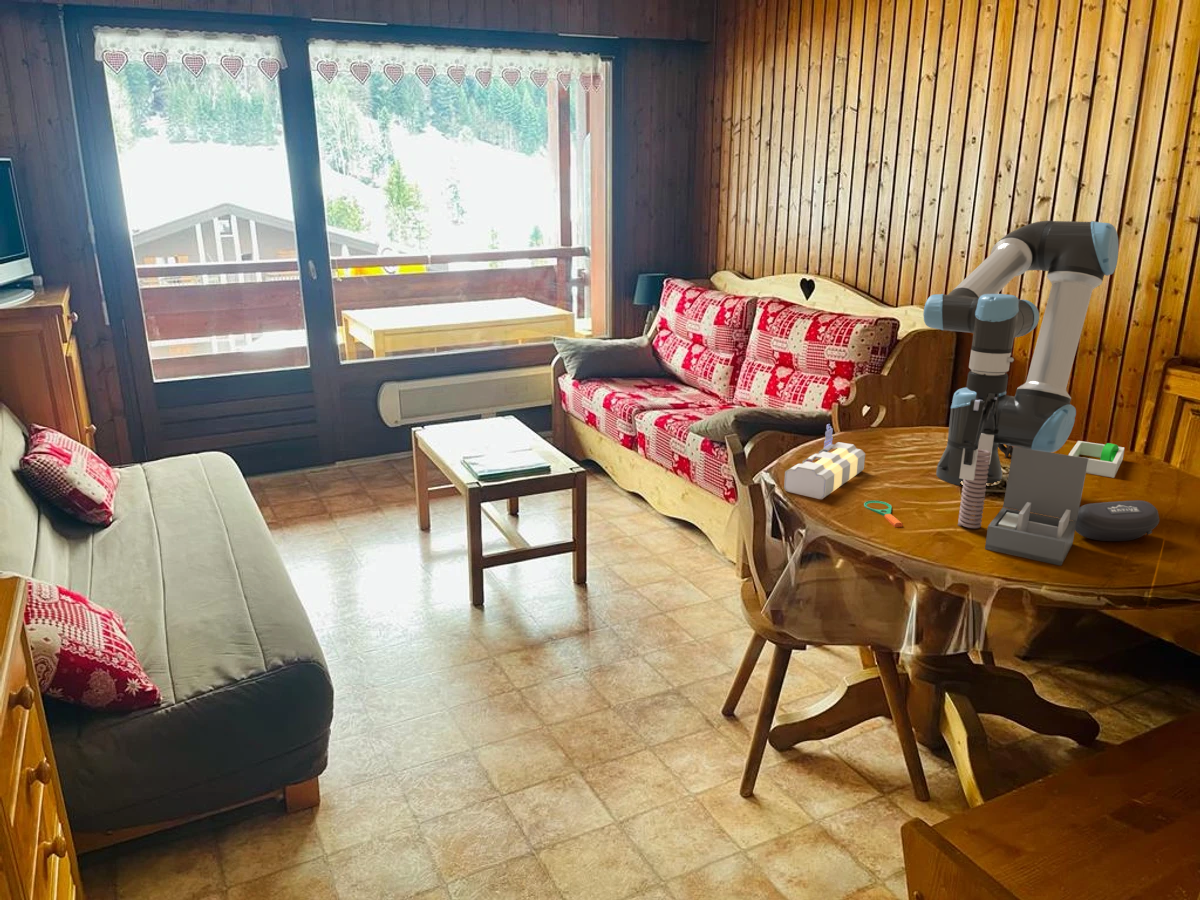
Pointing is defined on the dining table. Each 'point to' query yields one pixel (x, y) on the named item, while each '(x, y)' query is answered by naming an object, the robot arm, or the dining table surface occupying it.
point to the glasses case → (1116, 520)
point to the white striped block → (825, 469)
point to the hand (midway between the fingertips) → (975, 471)
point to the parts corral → (1098, 465)
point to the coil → (974, 493)
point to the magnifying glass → (887, 515)
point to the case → (1039, 506)
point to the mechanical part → (1109, 452)
